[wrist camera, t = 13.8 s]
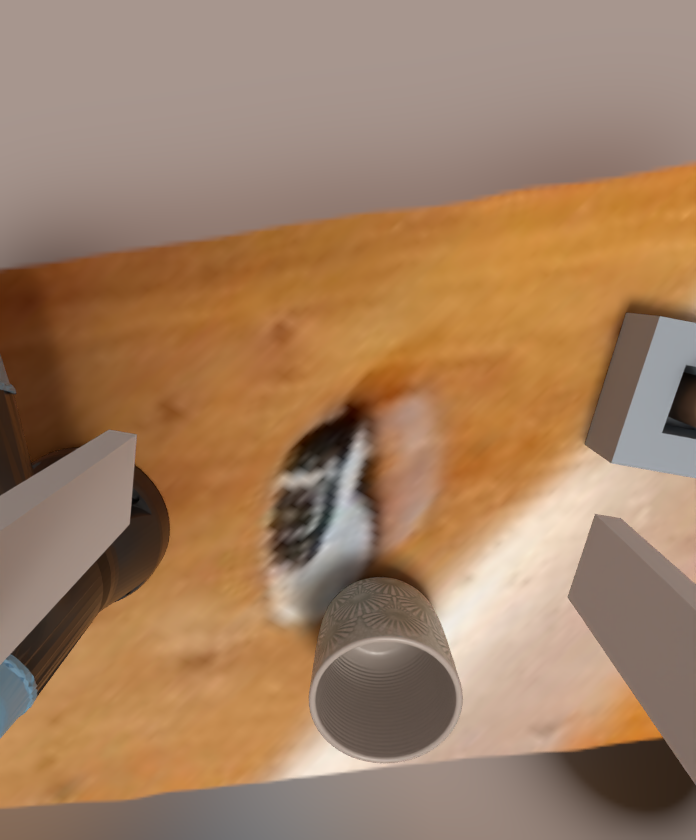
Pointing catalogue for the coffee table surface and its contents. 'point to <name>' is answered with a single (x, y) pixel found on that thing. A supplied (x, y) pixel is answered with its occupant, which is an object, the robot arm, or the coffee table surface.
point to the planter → (383, 674)
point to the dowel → (685, 401)
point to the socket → (646, 397)
